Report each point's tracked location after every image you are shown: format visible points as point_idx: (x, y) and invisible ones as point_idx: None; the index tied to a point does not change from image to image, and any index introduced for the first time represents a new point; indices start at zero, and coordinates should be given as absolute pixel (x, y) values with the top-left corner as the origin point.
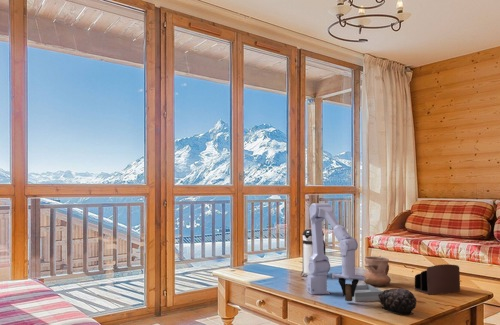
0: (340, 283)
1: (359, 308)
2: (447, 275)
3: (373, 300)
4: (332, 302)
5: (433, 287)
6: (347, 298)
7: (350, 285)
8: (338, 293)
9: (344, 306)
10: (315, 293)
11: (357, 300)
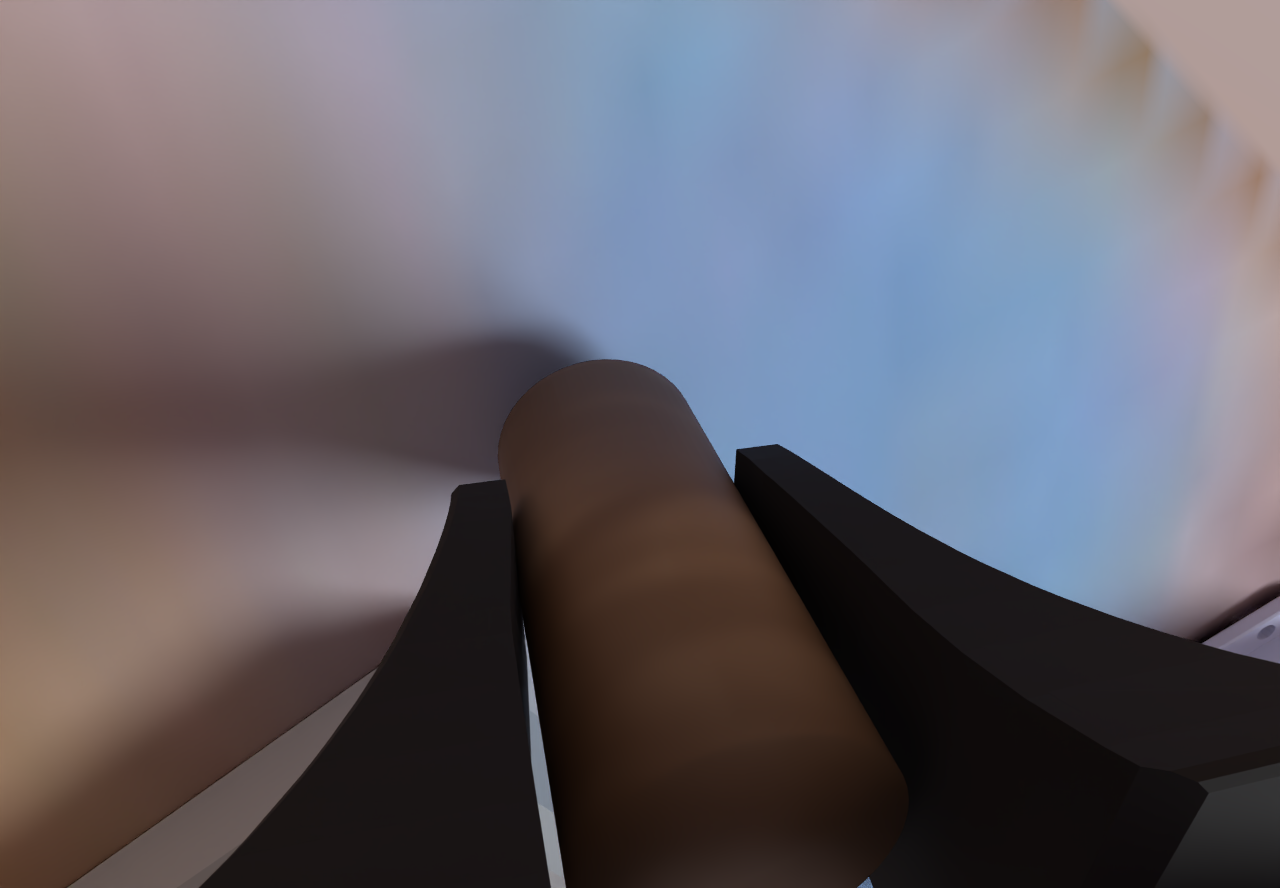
0: (1193, 660)
1: (102, 2)
2: None
3: (135, 842)
4: (964, 291)
5: None
6: (631, 395)
7: (630, 781)
8: None
9: (631, 34)
10: (1247, 634)
11: None
